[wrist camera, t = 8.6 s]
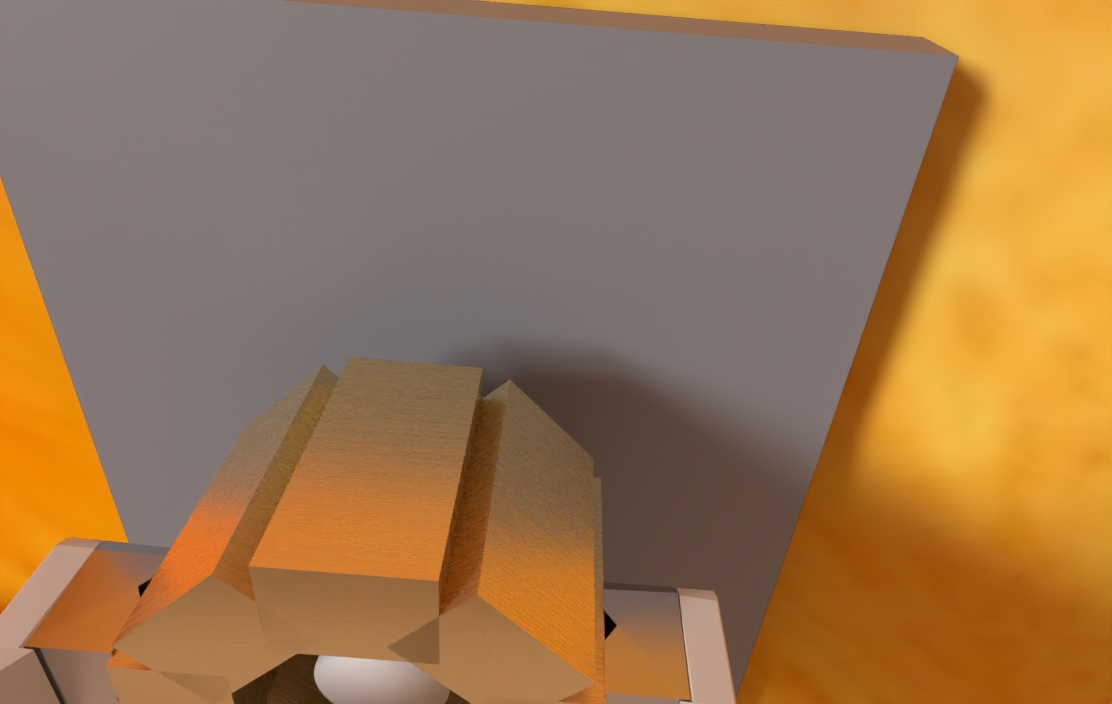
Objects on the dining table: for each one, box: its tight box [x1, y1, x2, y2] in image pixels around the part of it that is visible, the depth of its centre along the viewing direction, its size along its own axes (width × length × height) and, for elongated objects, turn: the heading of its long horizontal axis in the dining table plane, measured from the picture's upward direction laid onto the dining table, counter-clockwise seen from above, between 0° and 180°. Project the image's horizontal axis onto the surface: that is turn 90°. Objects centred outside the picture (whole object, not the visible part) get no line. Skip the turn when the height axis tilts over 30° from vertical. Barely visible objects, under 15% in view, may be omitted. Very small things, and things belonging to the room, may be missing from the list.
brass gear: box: [105, 357, 606, 704], centre depth 10 cm, size 5×5×4 cm
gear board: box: [0, 0, 959, 704], centre depth 13 cm, size 20×13×6 cm, turn 176°
